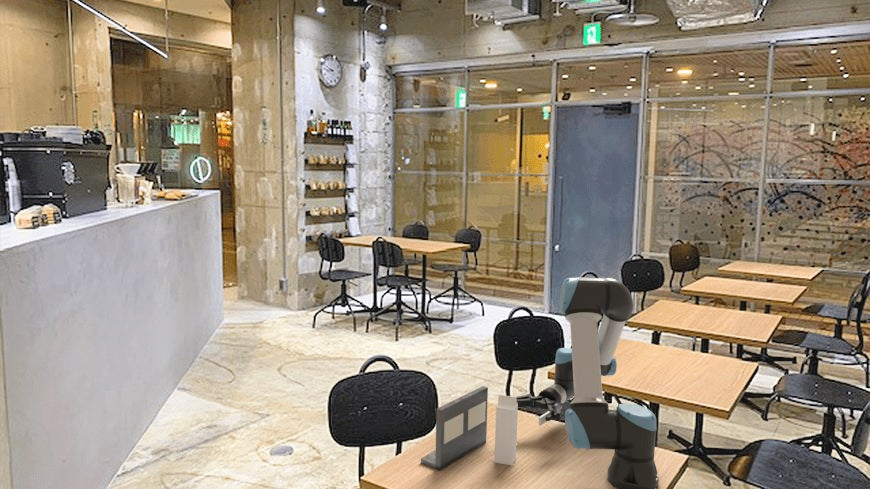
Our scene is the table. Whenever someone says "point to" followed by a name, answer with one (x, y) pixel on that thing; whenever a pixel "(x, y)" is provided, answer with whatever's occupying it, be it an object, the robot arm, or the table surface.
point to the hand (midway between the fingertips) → (521, 415)
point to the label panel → (459, 428)
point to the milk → (506, 430)
